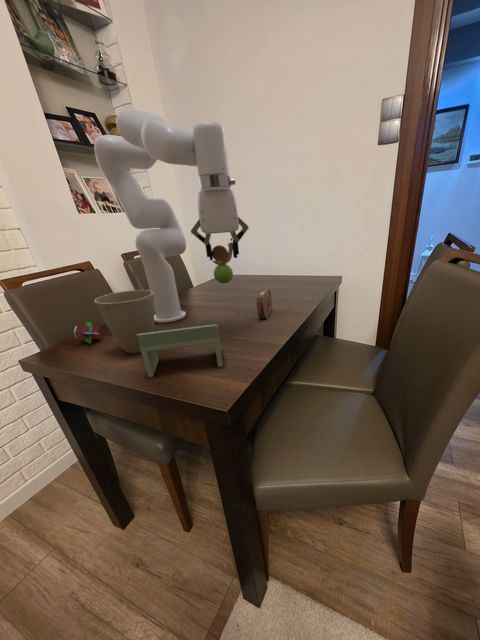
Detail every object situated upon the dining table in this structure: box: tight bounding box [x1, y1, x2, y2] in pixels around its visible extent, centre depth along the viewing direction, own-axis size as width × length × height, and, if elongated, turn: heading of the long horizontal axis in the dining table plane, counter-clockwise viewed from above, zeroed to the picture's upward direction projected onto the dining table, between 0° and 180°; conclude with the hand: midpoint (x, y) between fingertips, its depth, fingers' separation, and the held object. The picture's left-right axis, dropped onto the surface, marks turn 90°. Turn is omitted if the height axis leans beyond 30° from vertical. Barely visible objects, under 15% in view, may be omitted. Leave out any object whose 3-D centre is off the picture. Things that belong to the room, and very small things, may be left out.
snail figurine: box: [212, 237, 234, 284], centre depth 79 cm, size 5×6×12 cm
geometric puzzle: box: [73, 320, 101, 345], centre depth 90 cm, size 7×7×8 cm
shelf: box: [137, 323, 224, 378], centre depth 70 cm, size 9×18×11 cm, turn 101°
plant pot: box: [94, 289, 155, 354], centre depth 81 cm, size 15×15×16 cm
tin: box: [256, 289, 273, 319], centre depth 103 cm, size 15×3×8 cm, turn 168°
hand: (223, 258), depth 79 cm, fingers closed on snail figurine, 6 cm apart
